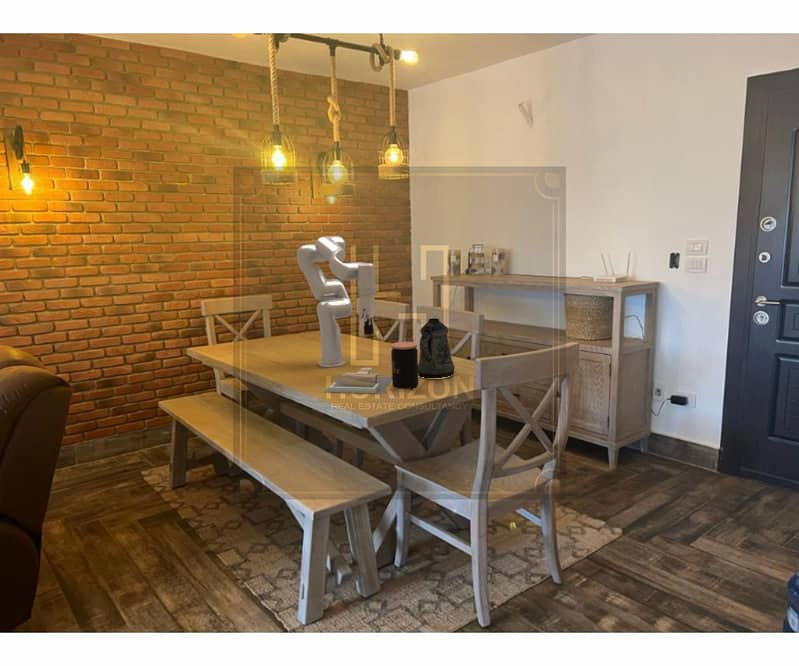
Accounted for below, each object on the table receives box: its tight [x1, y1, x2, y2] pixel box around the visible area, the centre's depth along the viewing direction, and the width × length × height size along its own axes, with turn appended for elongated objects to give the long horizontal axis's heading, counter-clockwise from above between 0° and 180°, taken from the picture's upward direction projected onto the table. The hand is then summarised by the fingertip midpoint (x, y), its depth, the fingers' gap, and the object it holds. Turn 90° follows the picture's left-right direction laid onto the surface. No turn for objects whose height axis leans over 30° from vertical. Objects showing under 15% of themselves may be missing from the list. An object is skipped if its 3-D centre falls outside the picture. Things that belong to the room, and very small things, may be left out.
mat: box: [322, 375, 392, 395], centre depth 241 cm, size 26×24×3 cm
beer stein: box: [418, 317, 455, 379], centre depth 253 cm, size 16×19×25 cm
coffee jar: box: [390, 341, 419, 391], centre depth 237 cm, size 11×11×18 cm
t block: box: [341, 367, 379, 386], centre depth 246 cm, size 14×14×4 cm
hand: (368, 333), depth 255 cm, fingers closed
